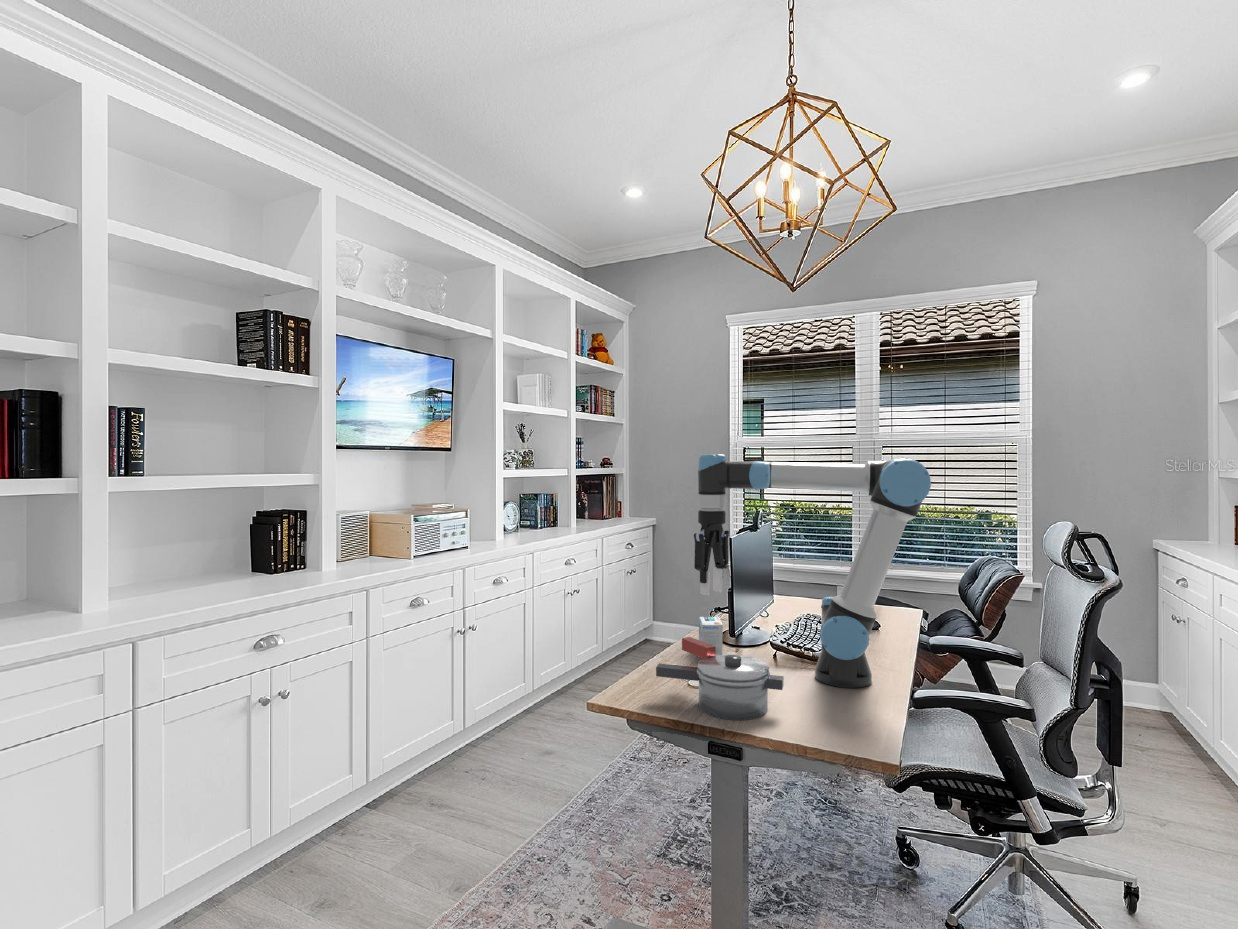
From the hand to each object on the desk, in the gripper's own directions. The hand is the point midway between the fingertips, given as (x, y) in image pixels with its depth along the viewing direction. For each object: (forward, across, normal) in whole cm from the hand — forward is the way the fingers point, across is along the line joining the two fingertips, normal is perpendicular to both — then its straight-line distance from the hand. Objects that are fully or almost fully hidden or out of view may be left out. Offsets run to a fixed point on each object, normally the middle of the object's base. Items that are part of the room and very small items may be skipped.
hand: (711, 592), depth 186 cm
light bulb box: (+25, -21, -16) cm, 37 cm away
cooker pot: (+25, +13, +12) cm, 30 cm away
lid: (+15, +10, +10) cm, 21 cm away
